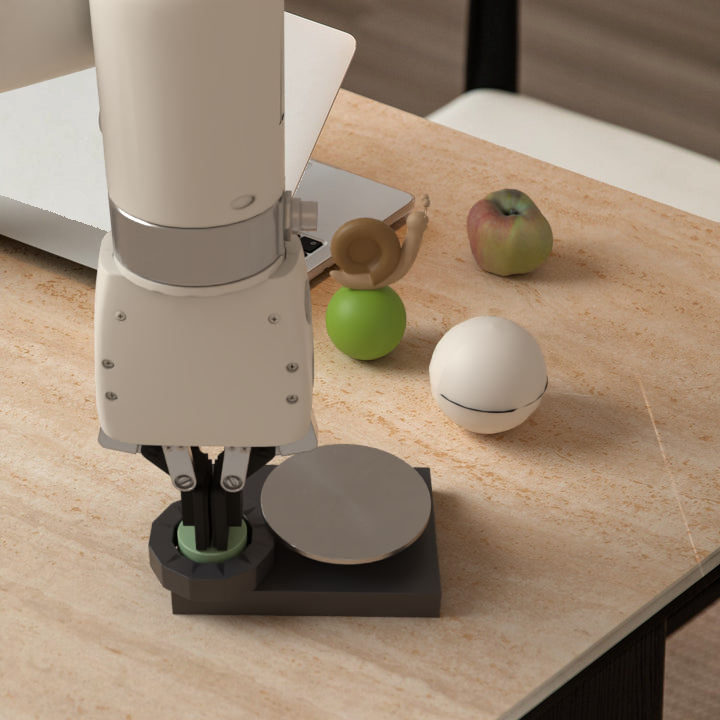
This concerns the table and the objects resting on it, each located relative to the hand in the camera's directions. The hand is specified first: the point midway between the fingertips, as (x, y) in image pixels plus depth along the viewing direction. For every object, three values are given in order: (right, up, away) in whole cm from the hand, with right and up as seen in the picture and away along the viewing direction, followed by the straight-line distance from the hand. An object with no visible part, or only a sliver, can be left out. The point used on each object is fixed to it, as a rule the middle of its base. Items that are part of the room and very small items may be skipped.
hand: (213, 531), depth 65 cm
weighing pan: (+7, +1, +3) cm, 7 cm away
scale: (+5, -2, +5) cm, 7 cm away
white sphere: (+16, +4, +14) cm, 22 cm away
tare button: (0, -1, +1) cm, 2 cm away
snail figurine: (+8, +9, +20) cm, 24 cm away
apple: (+18, +16, +30) cm, 39 cm away
